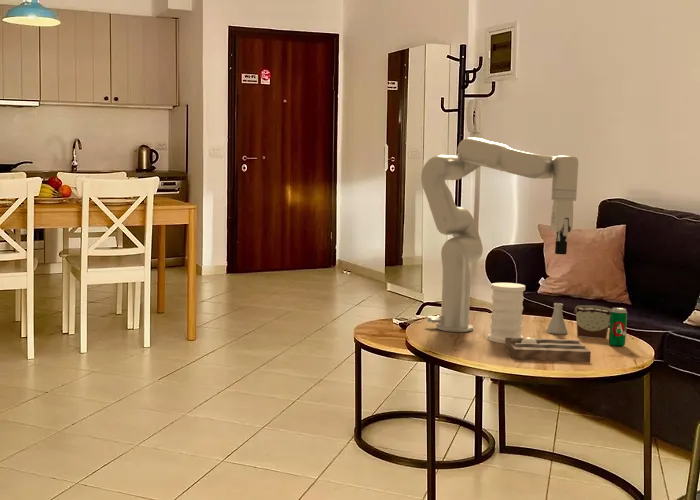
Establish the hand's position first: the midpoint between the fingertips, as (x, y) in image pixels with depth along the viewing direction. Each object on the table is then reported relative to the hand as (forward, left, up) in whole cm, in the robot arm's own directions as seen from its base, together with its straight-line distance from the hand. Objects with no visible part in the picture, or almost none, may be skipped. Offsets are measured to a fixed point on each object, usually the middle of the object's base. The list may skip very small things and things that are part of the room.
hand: (560, 253), depth 253 cm
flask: (+5, +20, -29) cm, 36 cm away
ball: (-11, -14, -27) cm, 32 cm away
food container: (+16, +16, -29) cm, 37 cm away
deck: (-6, -14, -29) cm, 33 cm away
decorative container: (-15, +5, -29) cm, 33 cm away
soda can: (+20, +2, -29) cm, 36 cm away
